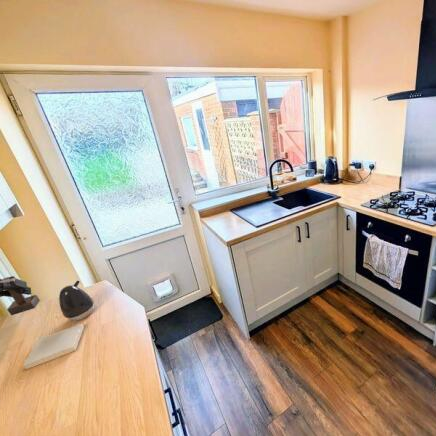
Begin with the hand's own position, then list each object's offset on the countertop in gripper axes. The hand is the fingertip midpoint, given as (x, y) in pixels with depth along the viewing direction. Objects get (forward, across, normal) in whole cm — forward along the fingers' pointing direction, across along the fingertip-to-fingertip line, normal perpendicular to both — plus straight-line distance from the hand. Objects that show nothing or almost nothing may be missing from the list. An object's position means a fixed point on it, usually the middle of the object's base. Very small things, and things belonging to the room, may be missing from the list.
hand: (24, 292), depth 97 cm
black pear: (+8, +15, -15) cm, 22 cm away
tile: (-3, +10, -25) cm, 27 cm away
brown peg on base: (+1, 0, -6) cm, 6 cm away
